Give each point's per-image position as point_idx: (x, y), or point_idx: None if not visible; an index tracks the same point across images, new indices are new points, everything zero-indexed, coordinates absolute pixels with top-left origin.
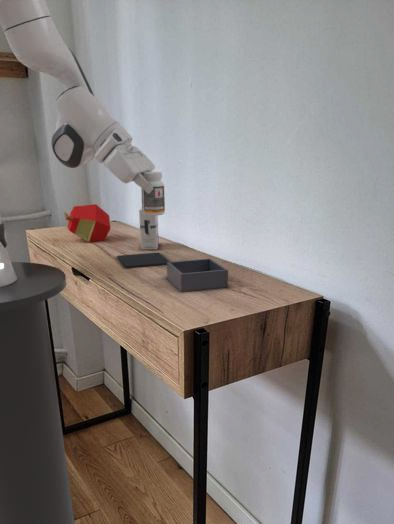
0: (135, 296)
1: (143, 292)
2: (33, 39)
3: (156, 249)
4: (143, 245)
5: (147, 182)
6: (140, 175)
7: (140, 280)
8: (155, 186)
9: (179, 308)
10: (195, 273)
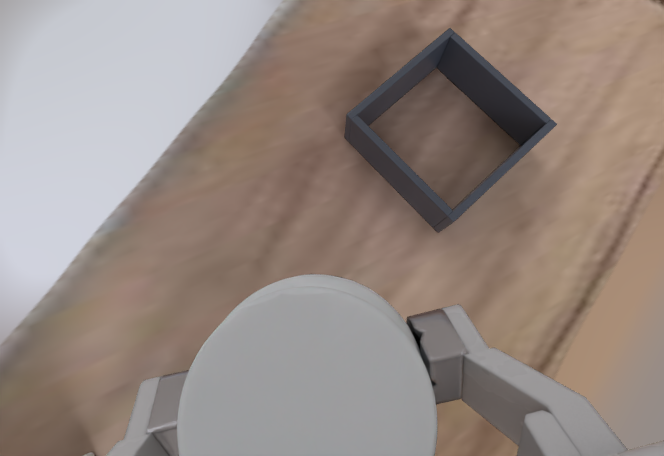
0: (622, 236)
1: (583, 233)
2: None
3: (93, 453)
4: None
5: (498, 353)
6: (598, 434)
7: (492, 297)
8: (395, 310)
9: (637, 102)
10: (523, 94)
